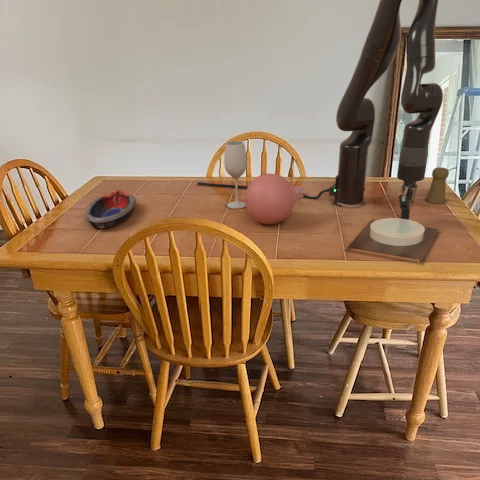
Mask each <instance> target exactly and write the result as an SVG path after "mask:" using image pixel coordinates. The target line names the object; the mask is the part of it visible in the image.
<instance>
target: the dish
mask: <svg viewBox="0 0 480 480" xmlns="http://www.w3.org/2000/svg"><path fill="white" fill-rule="evenodd" d="M135 206H136V197H135V196H134V195H133V194H132V193H130V192H128V191H126V190H123V189H116V190H113V191H110V192H107V193H104V194H102V195H99V196H98V197H96V198H94V199H93V200H92V201H91V202H90V203H89V204H88V205H87V206H86V208H85V210H84V211H85V212H84V217H85V219H86V220H87V222H88V223H89V224H90V225H91V227H94V228H95V229H96V228H97V229H105V228H106V229H107V228H111V227H114V226H118V225H119V224H121V223H122V222H125V221H126V220H127V219H128V218H129V217H130V216H131V215H132V214H133V213H134V210H135Z"/></svg>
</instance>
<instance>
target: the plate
mask: <svg viewBox="0 0 480 480" xmlns="http://www.w3.org/2000/svg"><path fill="white" fill-rule="evenodd" d="M375 220H376V221H374V222H372V223H371V225H370V233H369V235H370V237H371V238H372V239H373V240H375V241H377V242H379V243H382V244H386V245H393V246H409V245H414V244H417V243H420V242H421V241H422V240H423V238H424V232H425V228H424V227H425V226H424V225H423V224H421V223H420V222H418V221H415V220H412V219H409V220H408V219H401V217H400V218H399V217H386V218H381V219H375Z"/></svg>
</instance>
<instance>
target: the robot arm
mask: <svg viewBox="0 0 480 480" xmlns="http://www.w3.org/2000/svg"><path fill="white" fill-rule="evenodd" d="M402 2H403V0H379V3H378V6H377V9H376V11H375V14H374V16H373V20H372V23H371V25H370V28H369V31H368V33H367V36H366V39H365V41H364V43H363V47H362V50H361V53H360V55H359V59H358V61H357V64H356V66H355V68H354V71H353V73H352V76H351V79H350V81H349V84H348V86H347V88H346V90H345V91H344V94H343V96H342V97H341V100H340V102H339V104H338V107H337V111H336V114H335V115H336V116H335V122H336V126H337V128H338V129H339V130H340V131H342V132H351V133H350V135H349V136H348V137H346V138H345V139H344V140H342V141H341V142H340V144H339V152H338V153H339V154H338V166H337V167H338V168H337V175H336V176H335V181H334V183H333V184H332V185H331V186H329V187H328V188H327V189H323V190H321V191H319V192H318V194H317V195H316V196H311V195H307V194H306V195H304V196H303V198H305V199H310V200H318V199H319V198H321V196H322V195H323V194H325V193H328V196H331V197H334V199H333V204H334V205H338V206H339V207H343V206H357V205H361V204H364V203H365V202H364V201H365V200H364V199H365V192H366V179H367V169H368V168H367V167H368V157H369V148H370V146H371V144H372V141H373V134H374V126H375V122H376V121H375V120H376V107H375V104H374V102H373V101H372V99H370V98H368V97H366V95H367V94H368V93H369V91H370V89H371V88H372V87H373V86H374V85H375V84H376V83H377V82H378V81H379V80H380V79H381V77H383V76H384V75H385V73H386V72H387V71H388V69H389V68H390V66H391V65H392V64H393V61H394V59H395V57H396V54H397V52H398V49H399V47H400V44H401V41H402V24H401V14H400V13H401V12H400V10H401V6H402ZM438 5H439V0H418V5H417V8H416V12H415V15H414V17H413V20H412V22H411V23H410V26H409V29H408V32H407V36H406V42H405V43H406V44H405V53H406V55H405V56H406V57H405V58H406V69H405V70H406V71H405V74H404V81H403V85H402V89H401V95H400V105H401V108H402V110H403V111H404V112H405V113H406V114H409V115H412V114H413V115H414V114H418V115H417V117H416V119H414V120H412V121H409V122H408V123H406V124H405V125H404V128H403V135H402V142H401V148H400V151H399V158H398V165H397V173H396V178H397V179H398V180H399V181H403V183H402V185H401V186H400V194H399V196H398V200H399V209H400V218H401V219H408V220H410V214H411V209H412V208H413V204H414V200H415V198H416V193H417V190H418V184H417V182H421V181H423V180H424V179H425V177H426V171H427V164H428V158H429V144H430V139H431V133H432V132H431V131H432V129H433V127H434V124H435V122H436V119H437V117H438V115H439V113H440V111H441V108H442V105H443V102H444V101H443V100H444V93H443V89H442V86H441V85H440V84H438V83H437V82H429V83H427V82H426V83H422V78H423V76H424V75H427V74H429V73H431V72H433V71H434V70H435V68H436V22H437V21H436V19H437V12H438ZM197 185H200V186H209V187H210V186H211V187H221V188H222V187H223V188H235V189H236V187H235V184H225V183H224V184H223V183H214V182H213V183H212V182H203V181H198V182H197ZM237 185H238V189H247V188H248V186H249V185H239V184H237Z"/></svg>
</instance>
